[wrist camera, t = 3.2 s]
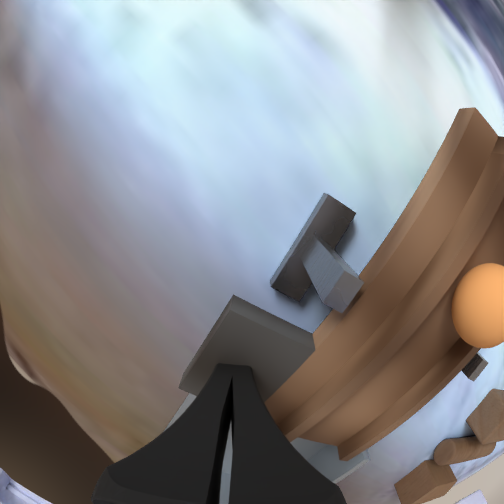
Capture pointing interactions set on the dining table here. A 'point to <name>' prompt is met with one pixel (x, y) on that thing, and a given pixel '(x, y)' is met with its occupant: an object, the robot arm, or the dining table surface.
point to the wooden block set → (455, 453)
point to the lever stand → (330, 265)
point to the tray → (313, 452)
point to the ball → (480, 306)
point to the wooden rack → (379, 311)
